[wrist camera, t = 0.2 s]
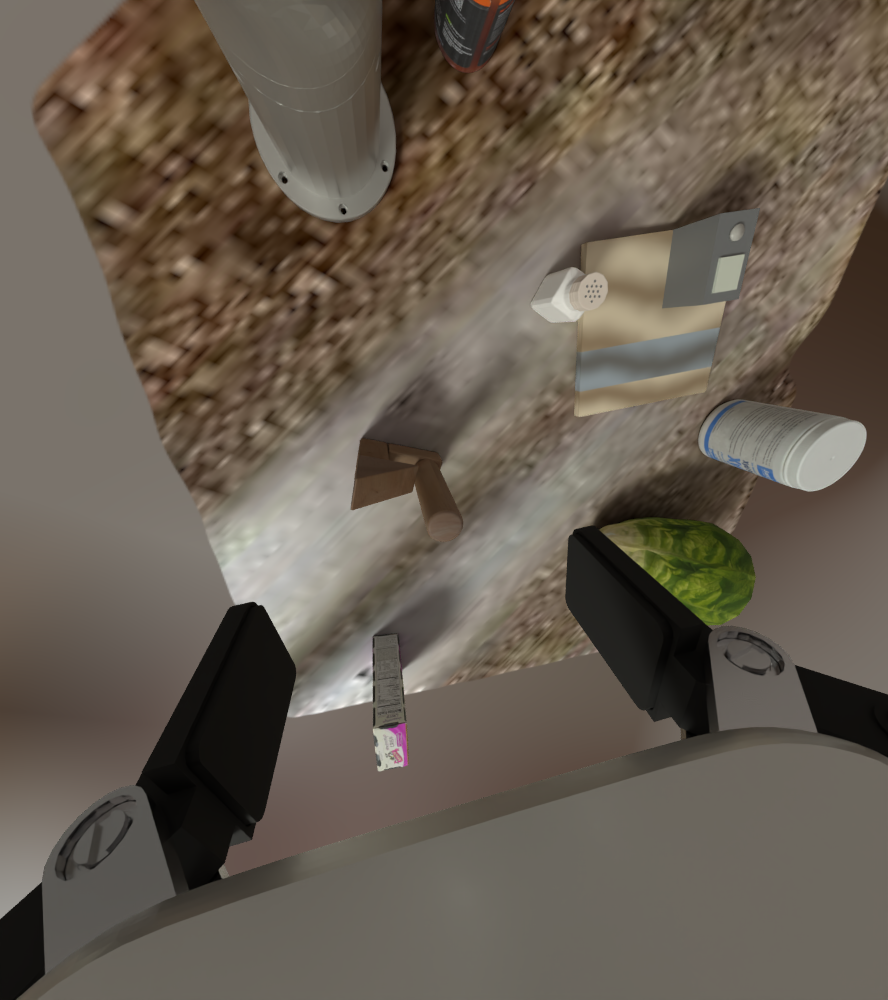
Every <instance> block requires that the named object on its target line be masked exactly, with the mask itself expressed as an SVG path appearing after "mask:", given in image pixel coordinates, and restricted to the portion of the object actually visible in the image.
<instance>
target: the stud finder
mask: <svg viewBox="0 0 888 1000" xmlns="http://www.w3.org/2000/svg"><path fill="white" fill-rule="evenodd" d="M759 210H760V208H756V209H749V210H742V211H735V212H728V213H721V214H718V215H715V216H712V217H709V218H706V219H703V220H700V221H698V222H695V223H692V224H689V225H686V226H683V227H680V228H677V229H674V230H673V236H672V243H671V250H670V257H669V263H668V270H667V277H666V284H665V291H664V298H663V305H662V308H673V307H685V306H697V305H706V304H712V303H717V302H723V301H729V300H735V299H739V294H740V290H741V286H742V282H743V278H744V273H745V269H746V265H747V261H748V256H749V252H750V248H751V244H752V240H753V235H754V231H755V227H756V223H757V219H758V214H759Z"/></svg>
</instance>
